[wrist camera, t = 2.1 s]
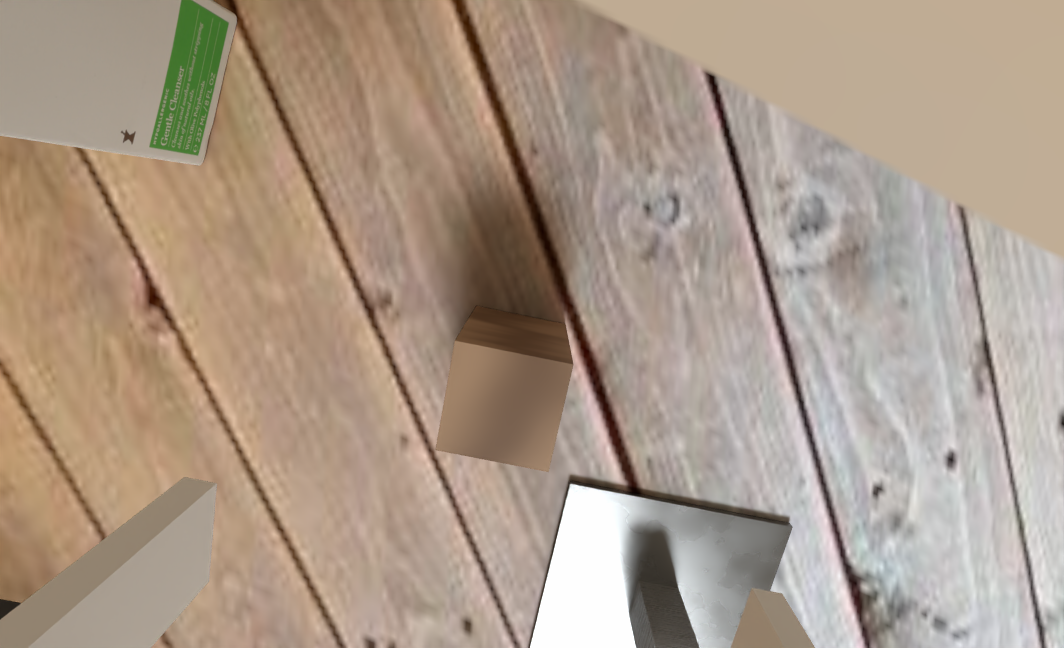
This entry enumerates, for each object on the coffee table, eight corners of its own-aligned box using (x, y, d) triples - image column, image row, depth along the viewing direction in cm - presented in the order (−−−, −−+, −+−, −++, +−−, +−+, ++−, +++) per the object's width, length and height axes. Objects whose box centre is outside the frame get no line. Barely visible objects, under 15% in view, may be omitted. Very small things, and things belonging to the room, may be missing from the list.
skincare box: (205, 168, 29) (-162, 133, 14) (85, 123, 29) (-429, 35, 13) (242, 9, 27) (-134, -232, 12) (115, -42, 27) (-441, -359, 12)
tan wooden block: (460, 390, 32) (435, 449, 24) (476, 305, 30) (454, 340, 23) (546, 407, 32) (548, 471, 24) (565, 324, 31) (573, 364, 23)
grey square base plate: (525, 664, 36) (521, 762, 30) (570, 480, 33) (576, 546, 27) (726, 702, 36) (764, 805, 30) (789, 523, 33) (846, 597, 27)
